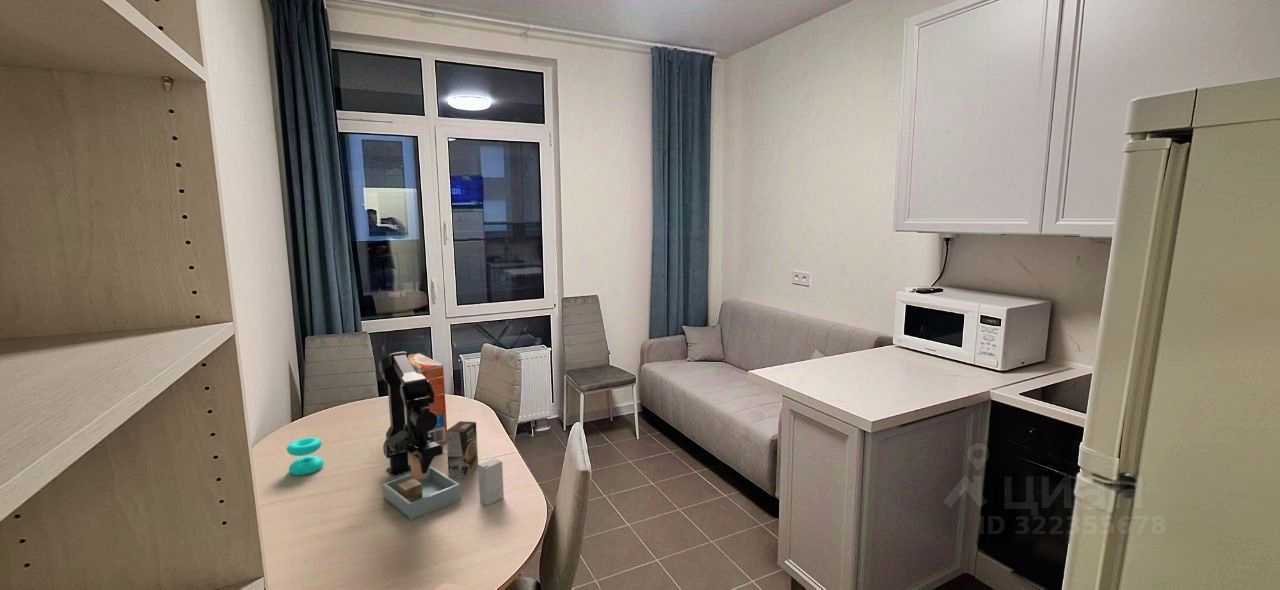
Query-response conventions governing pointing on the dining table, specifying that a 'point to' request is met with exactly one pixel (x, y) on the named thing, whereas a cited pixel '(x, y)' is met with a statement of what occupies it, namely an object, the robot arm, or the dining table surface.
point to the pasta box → (436, 379)
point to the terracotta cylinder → (416, 467)
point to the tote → (434, 491)
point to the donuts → (305, 463)
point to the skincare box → (490, 481)
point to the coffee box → (462, 449)
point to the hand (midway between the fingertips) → (420, 470)
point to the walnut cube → (410, 490)
